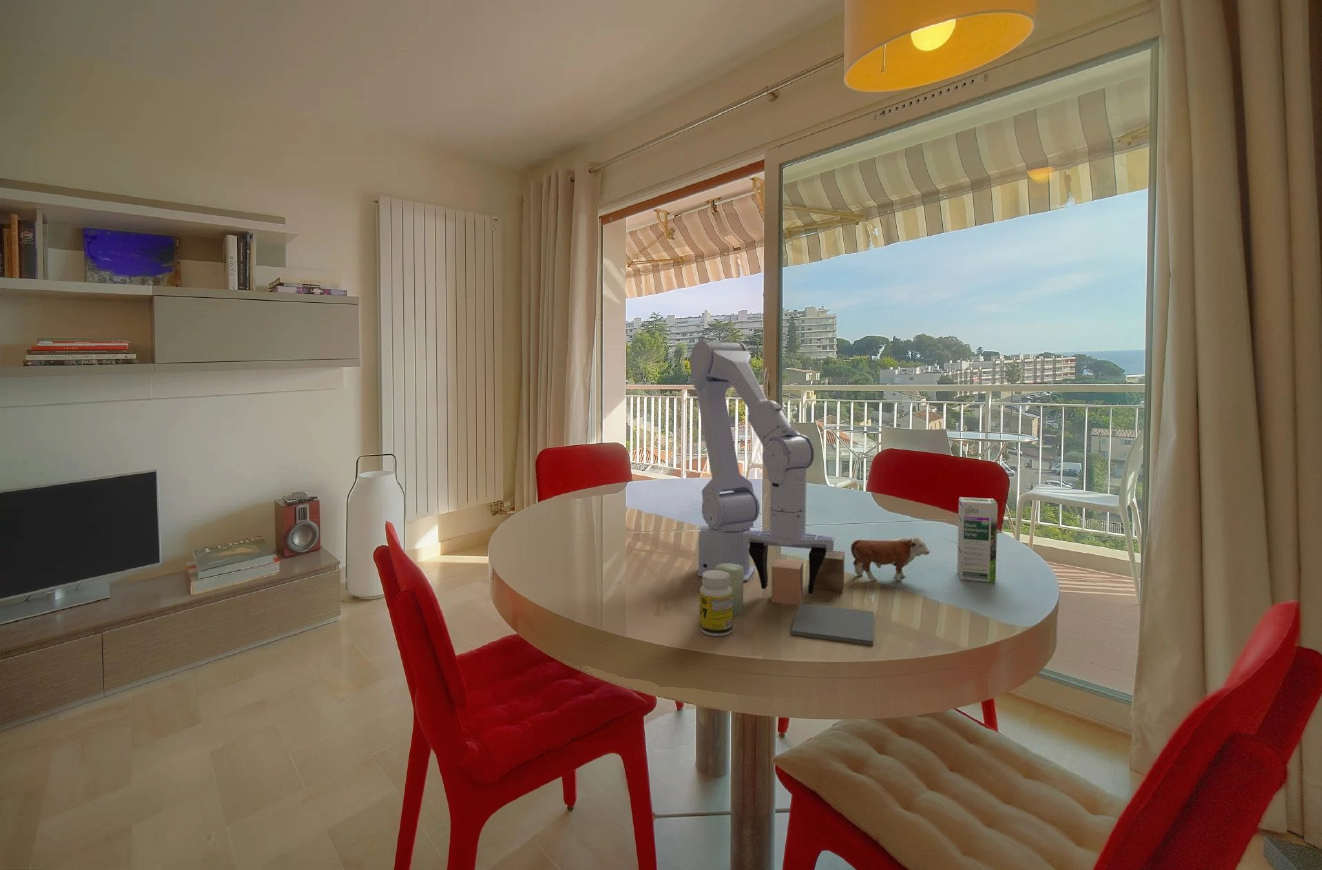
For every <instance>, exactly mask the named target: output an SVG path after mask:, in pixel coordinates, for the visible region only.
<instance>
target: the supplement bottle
mask: <svg viewBox="0 0 1322 870" xmlns="http://www.w3.org/2000/svg"><path fill="white" fill-rule="evenodd" d="M701 583H702V585H701V586H700V588H699V629H700V631H701V633H703V634H705V635H707V636H710V637H724V636H727V635H730V634H731V633H732V631H733V628H734V627H733V625H734V623H733V617H734V616H733V613H732V612H733V610H732V597H733V593H732V588H731V587H730V586H729V585H730V574H729V573H727V572H725V571H720V570H710V571H706V572H704V573H703V574H702V576H701Z"/></svg>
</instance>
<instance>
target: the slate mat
mask: <svg viewBox="0 0 1322 870" xmlns="http://www.w3.org/2000/svg"><path fill="white" fill-rule="evenodd" d="M798 606H799V607H798V610H797V613H796V615H795V618H794V621H793V624H792V627H791V630H790V634H791V635H792V636H798V637H799V636H801V637H807V638H814V639H815V638H816V639H823V640H830V641H839V642H845V643H854V644H862V645H867V646H868V645H869V646H874V611H872V610H871V611H870V610H864V609H863V610H862V609H855V608H854V609H853V608H843V607H836V606H827V605H825V606H824V605H817V604H808V603H800V605H798Z"/></svg>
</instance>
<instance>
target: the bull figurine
mask: <svg viewBox="0 0 1322 870" xmlns="http://www.w3.org/2000/svg"><path fill="white" fill-rule="evenodd" d="M850 552H851V555H852V557H853V558H854V561H853V566H854V574H856V575H857V576H858V577H863V573H864V572H865V574H866V576H867V579H868V580H870V581H872V582H877V581H878V580H877V578H876V577H875V575H873V573H872V571H871V563H873V564H875V565H876V567H877V568H878V569H880V568H881V567H882V566H885V565H892V566H894V567H895V574H894V575H893V576H894V577H893V579H894V580H896V582H902V578H903V579H905V578H906V575H905V574H904V572H903V568H904V567H905V566H908V565H909V564H910V563H911V562H912V561H913V560H915V558H916V557H920V556H922V555H925V556H927V555H929V554H930V553H931V550H930V549H929V548H928V547H927V545H926V542H925V541H924V540H922V538H920V536H914V538H910V537H907V536H904V537H901V538H894V539H890V540H873V539H871V540H870V539H869V540H868V539H867V540H866V539H856V540H855V541H853V542H852V544H851V547H850Z"/></svg>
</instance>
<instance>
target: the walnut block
mask: <svg viewBox="0 0 1322 870" xmlns="http://www.w3.org/2000/svg"><path fill="white" fill-rule="evenodd" d="M844 585H845V551H842V550H833V552H830V551H827V552H826V555H825V558H824V560H823V562H822V564H821V566H820V568H819V570H818V573H817V576H816V580H815V585H814V592H821V593H822V592H823V593H831V594H832V593H833V594H840V595H841V594H844V593H843V592H844V587H845V586H844Z"/></svg>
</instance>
